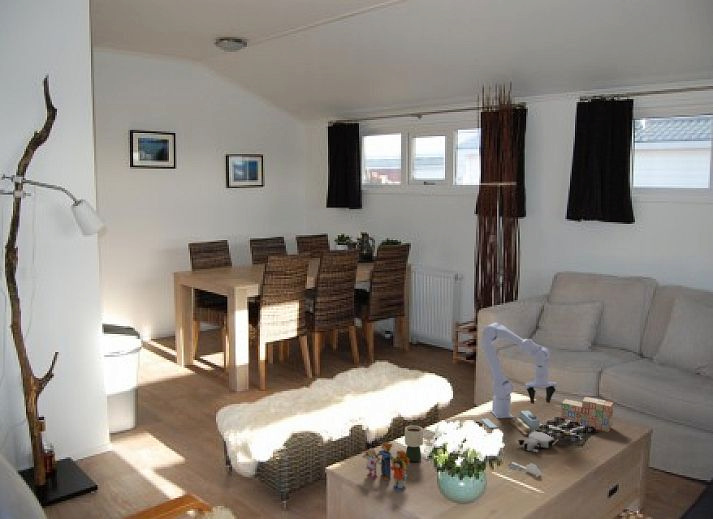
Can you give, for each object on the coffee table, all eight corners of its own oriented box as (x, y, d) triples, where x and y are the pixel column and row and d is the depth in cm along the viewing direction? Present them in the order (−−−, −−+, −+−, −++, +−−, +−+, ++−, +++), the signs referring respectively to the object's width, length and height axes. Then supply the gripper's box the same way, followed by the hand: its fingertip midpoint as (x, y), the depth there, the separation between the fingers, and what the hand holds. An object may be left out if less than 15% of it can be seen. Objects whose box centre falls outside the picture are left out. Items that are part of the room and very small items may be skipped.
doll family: (360, 474, 240) (361, 441, 238) (377, 466, 247) (378, 433, 245) (403, 493, 225) (404, 458, 224) (420, 484, 232) (421, 450, 231)
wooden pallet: (509, 422, 292) (510, 416, 292) (534, 420, 294) (534, 414, 294) (524, 436, 277) (524, 429, 276) (549, 434, 279) (550, 428, 278)
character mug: (428, 462, 250) (429, 431, 248) (414, 467, 246) (415, 435, 244) (411, 452, 259) (412, 422, 257) (397, 456, 255) (398, 426, 253)
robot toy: (537, 459, 257) (559, 447, 265) (536, 448, 256) (559, 437, 265) (513, 448, 266) (535, 437, 275) (512, 438, 266) (535, 427, 274)
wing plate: (480, 421, 294) (480, 419, 294) (487, 421, 295) (487, 418, 295) (490, 430, 285) (490, 427, 285) (497, 429, 285) (497, 426, 285)
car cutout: (545, 475, 241) (546, 464, 241) (536, 481, 237) (536, 469, 236) (512, 462, 252) (513, 451, 252) (502, 467, 248) (503, 456, 248)
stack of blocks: (560, 422, 294) (561, 396, 292) (564, 417, 299) (565, 392, 298) (608, 432, 282) (610, 406, 281) (611, 427, 287) (613, 401, 286)
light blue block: (519, 421, 291) (520, 408, 290) (528, 420, 292) (528, 408, 291) (530, 431, 279) (531, 418, 279) (539, 431, 280) (540, 418, 279)
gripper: (530, 377, 283) (528, 406, 285) (560, 376, 286) (558, 405, 288) (523, 372, 290) (522, 401, 292) (553, 371, 293) (551, 399, 294)
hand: (540, 402), depth 290 cm, fingers open, 7 cm apart
